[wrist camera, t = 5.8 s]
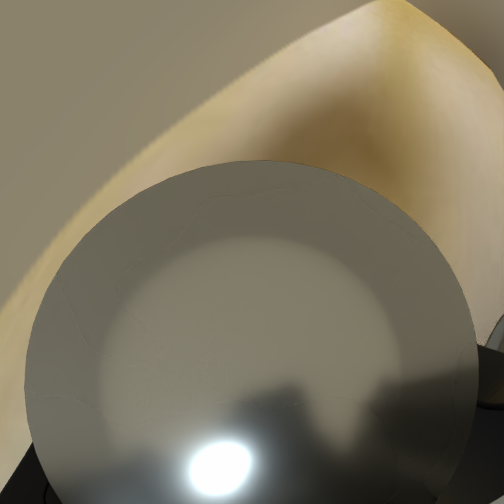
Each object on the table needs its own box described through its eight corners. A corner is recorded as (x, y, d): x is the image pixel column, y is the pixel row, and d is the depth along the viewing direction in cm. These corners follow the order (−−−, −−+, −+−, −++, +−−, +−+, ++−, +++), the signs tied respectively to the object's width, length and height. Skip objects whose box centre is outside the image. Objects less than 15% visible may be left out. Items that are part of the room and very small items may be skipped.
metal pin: (280, 350, 14) (515, 340, 3) (220, 421, 13) (307, 622, 1) (207, 289, 14) (254, 91, 3) (145, 360, 13) (-41, 404, 2)
